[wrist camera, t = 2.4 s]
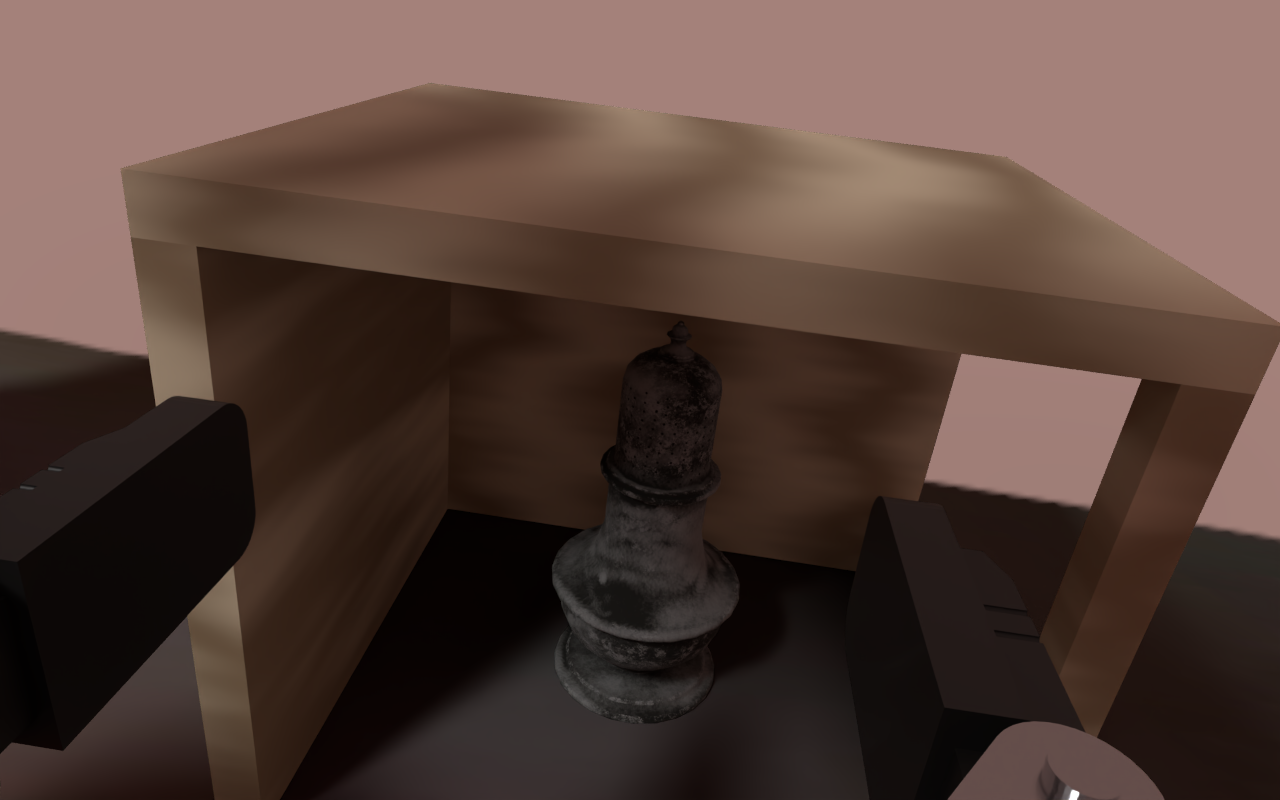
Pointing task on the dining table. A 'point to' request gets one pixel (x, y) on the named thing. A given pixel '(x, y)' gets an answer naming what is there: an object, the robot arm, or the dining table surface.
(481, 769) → the dining table surface
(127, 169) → the hutch
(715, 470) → the salt shaker
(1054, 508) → the dining table surface
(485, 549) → the dining table surface
